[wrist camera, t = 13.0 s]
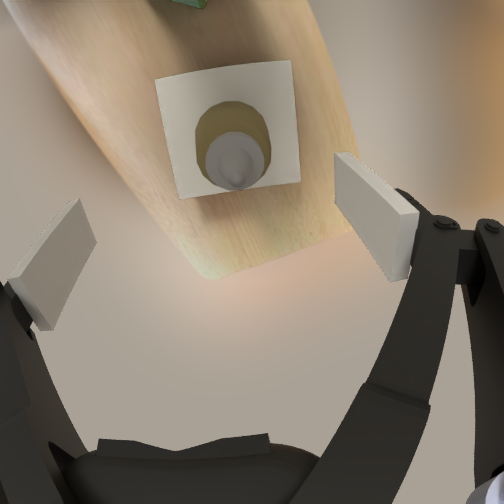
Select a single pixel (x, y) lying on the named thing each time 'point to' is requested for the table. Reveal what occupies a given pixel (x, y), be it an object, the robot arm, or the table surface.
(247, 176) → the squeeze bottle
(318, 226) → the table surface
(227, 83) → the display podium
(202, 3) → the milk carton
